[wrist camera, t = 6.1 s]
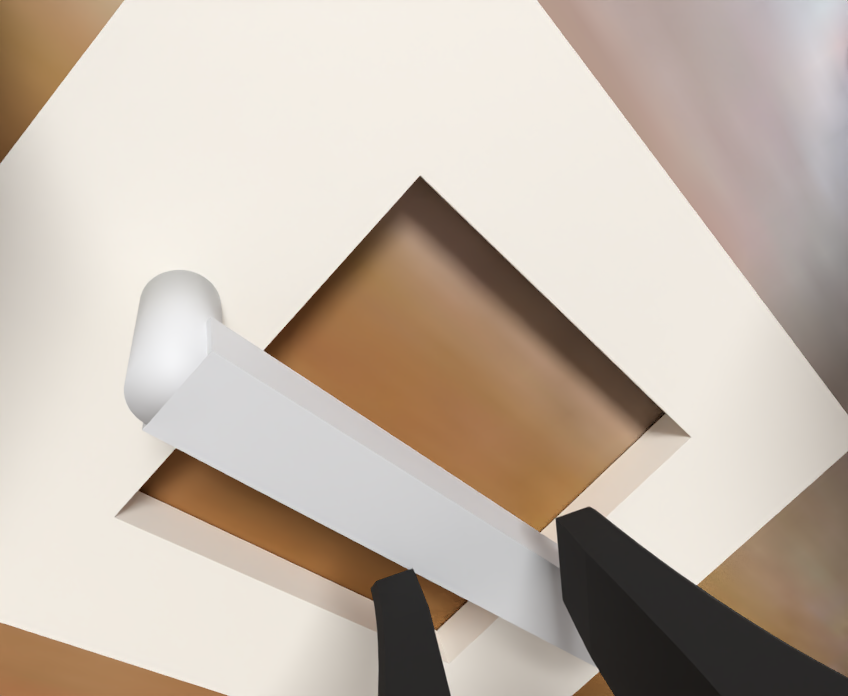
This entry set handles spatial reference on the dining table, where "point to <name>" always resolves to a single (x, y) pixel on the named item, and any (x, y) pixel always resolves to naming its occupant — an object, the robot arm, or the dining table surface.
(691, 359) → the cream frame with handle
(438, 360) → the dining table surface
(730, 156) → the dining table surface
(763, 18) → the dining table surface
